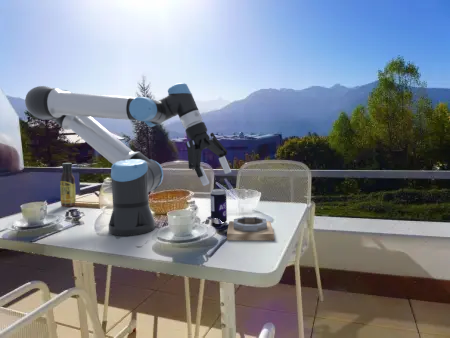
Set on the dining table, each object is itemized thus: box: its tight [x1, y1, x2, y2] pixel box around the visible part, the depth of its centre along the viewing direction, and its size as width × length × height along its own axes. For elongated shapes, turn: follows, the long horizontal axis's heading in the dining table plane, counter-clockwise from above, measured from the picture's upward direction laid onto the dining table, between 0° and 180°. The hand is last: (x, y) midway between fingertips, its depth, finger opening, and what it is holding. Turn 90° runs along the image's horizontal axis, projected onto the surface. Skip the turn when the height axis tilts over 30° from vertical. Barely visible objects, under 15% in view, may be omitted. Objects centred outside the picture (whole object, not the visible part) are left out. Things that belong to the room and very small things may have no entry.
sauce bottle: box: [59, 162, 77, 208], centre depth 149 cm, size 7×6×20 cm
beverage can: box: [210, 188, 228, 224], centre depth 116 cm, size 6×6×12 cm
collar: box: [233, 216, 267, 232], centre depth 104 cm, size 10×10×2 cm
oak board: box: [226, 220, 275, 241], centre depth 104 cm, size 14×14×2 cm
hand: (218, 178), depth 119 cm, fingers open, 13 cm apart
